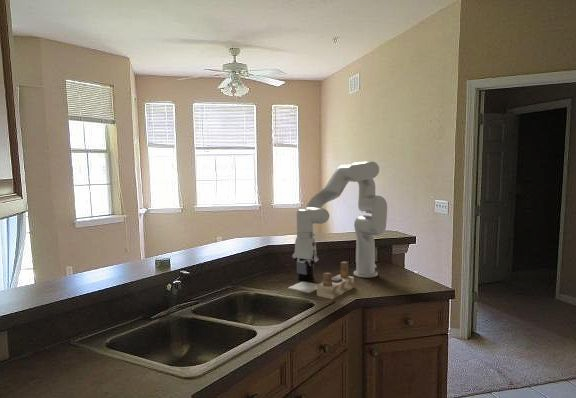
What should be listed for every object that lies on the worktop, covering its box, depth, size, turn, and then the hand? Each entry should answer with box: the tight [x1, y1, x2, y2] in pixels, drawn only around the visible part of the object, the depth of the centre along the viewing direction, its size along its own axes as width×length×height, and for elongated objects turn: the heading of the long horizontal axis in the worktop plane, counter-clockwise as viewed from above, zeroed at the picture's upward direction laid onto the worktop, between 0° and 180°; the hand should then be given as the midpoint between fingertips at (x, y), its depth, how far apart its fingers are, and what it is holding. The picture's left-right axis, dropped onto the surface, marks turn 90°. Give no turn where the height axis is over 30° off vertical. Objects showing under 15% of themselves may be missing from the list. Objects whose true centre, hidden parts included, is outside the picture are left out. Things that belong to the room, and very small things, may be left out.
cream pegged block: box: [316, 261, 355, 300], centre depth 175 cm, size 20×8×12 cm, turn 143°
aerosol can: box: [297, 259, 315, 282], centre depth 195 cm, size 8×8×20 cm
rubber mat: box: [287, 281, 319, 294], centre depth 182 cm, size 12×12×1 cm
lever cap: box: [296, 260, 315, 275], centre depth 181 cm, size 7×5×6 cm
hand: (305, 272), depth 181 cm, fingers closed on lever cap, 5 cm apart
